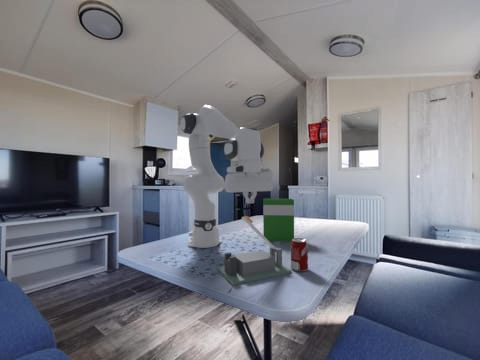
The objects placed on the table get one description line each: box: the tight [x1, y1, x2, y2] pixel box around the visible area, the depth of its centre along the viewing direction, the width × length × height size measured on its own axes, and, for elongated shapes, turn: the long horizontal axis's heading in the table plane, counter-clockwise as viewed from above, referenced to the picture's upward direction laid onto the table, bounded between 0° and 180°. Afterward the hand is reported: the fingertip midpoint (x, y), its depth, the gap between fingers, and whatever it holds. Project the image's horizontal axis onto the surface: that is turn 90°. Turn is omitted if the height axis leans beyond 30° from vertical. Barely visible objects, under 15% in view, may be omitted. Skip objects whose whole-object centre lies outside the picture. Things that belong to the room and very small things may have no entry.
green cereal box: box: [262, 198, 295, 242], centre depth 143 cm, size 18×7×24 cm, turn 83°
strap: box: [241, 215, 277, 253], centre depth 97 cm, size 3×22×2 cm
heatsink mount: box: [216, 244, 293, 286], centre depth 96 cm, size 16×25×8 cm, turn 115°
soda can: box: [290, 237, 309, 273], centre depth 97 cm, size 7×7×12 cm
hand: (249, 203), depth 95 cm, fingers closed
